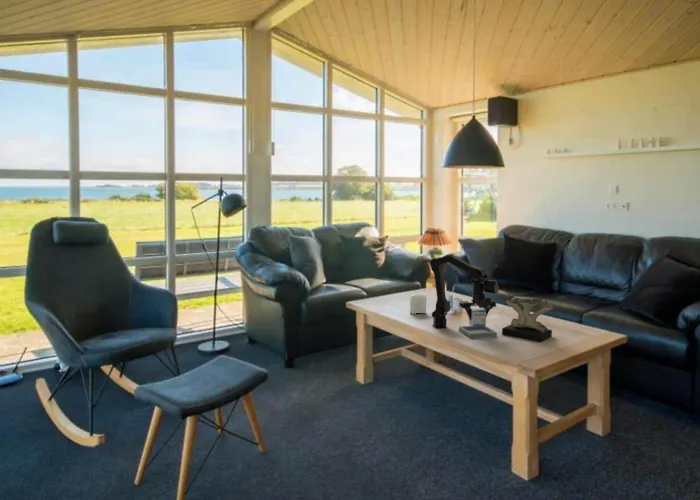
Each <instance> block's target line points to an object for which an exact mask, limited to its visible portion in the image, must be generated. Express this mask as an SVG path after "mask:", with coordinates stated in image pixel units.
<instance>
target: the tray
mask: <svg viewBox="0 0 700 500" xmlns="http://www.w3.org/2000/svg"><path fill="white" fill-rule="evenodd" d="M458 332H460V333H461V334H463V335H464V336H466V337H467V338H468V339H471V340H472V339H484V338H496V337H497V336H498V332H497V331H495V330H494V329H492V328H490V327H489V326H487V325H485V326H475V327H473V326H471V325H465V326H459V325H458Z"/></svg>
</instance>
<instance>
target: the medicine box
mask: <svg viewBox="0 0 700 500" xmlns="http://www.w3.org/2000/svg"><path fill="white" fill-rule="evenodd" d="M471 309H472V310H471V320H469V319H468V320H469V323H468V324H469V325H468V326H473V327H475V326H487V317H486V310H485V309H484V308H471Z"/></svg>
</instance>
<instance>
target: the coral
mask: <svg viewBox="0 0 700 500" xmlns="http://www.w3.org/2000/svg"><path fill="white" fill-rule="evenodd" d="M504 302H505V304H507V306H509V307H511V308H512V310H514V311H515V312H516V313H517V314H518V315H517V318H513V319H512V320H511V321H510V324H508V325H506V326H504V327H503V328H501V335H502V336H506V337H511V338H517V339H520V340H526V341H530V340H531V341H532V342H535V341H536V342H537V343H540V342H541V343H543V342H545V341H547V340H549V339H550V338H552V336H553V335H552V334H553V330H552V329H549V328H548V327H547V326H546V325H544V324H542V323H541V322H540V321H537V319H538V317H539V316H541V315H543V314H545V313H547V312H550V311H551V310H553V308H554V307H553V304H552V303H548V300H547V299H545V300H544V301H543V298H532V299H529V298H528V299H527V298H526V299H524V300H522V298H521V299H520V298H519V297H515V298H513V300H511V299H509V298H507V299H506V301H504ZM532 309H533V313H531V310H532ZM531 341H530V342H531Z"/></svg>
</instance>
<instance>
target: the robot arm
mask: <svg viewBox="0 0 700 500" xmlns="http://www.w3.org/2000/svg"><path fill="white" fill-rule="evenodd" d="M449 263H450V264H451V265H454V266H455V267H457V268H458V269H461V270H463V271H465V272H466V273H467V274H468V275H469V276H470V277H471V279H470V280H469V281H468V283H470V284H472V292H471V295H472V299H471V302H470V301H468V300H461V301H460V302H459V307H460V308H462V309H465V313H466V315H467V317H468V320H471V310H472V309H473V308H471V307H479V309H485V310H486V318H487V316H488V314H489V312H490V310H492V309H494V308H497V302H496V301H495V300H492V298H491V297H486V295H485V294H486V293H487V294H488V293H489V294H496V295H497V294H498V292H499V289H500V287H499V283H498V280H495V279H494V280H492V279H490V278H489V276H488V274H487V273H486V270H485V268H483V267H481V266H478V265H473V264H471V263H469V262H467V261H465V260H463V259H462V258H459V257H457V256H455V255H454V254H452V253H450V254H447V255H444V256H442V257H440V256H438V257H435V258H431V260H430V261H429V266H430V269H431V272H433V275H434V276H433V277H434V284H435V290H436V291H435V292H436V298H437V299H436V303H435V310H434V311H432V313H431V316H432V318H433V324H432V326H433V327H434V328H435V329H445V328H446V329H447V328H448V327H447V317H446V316H447V315H448V313H449V312H450V311H451V308H452V306H451V301H450V300H448V299H447V297H446V289H445V281H444V279H445V278H444V270H445V264H449ZM484 292H485V293H484Z"/></svg>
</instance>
